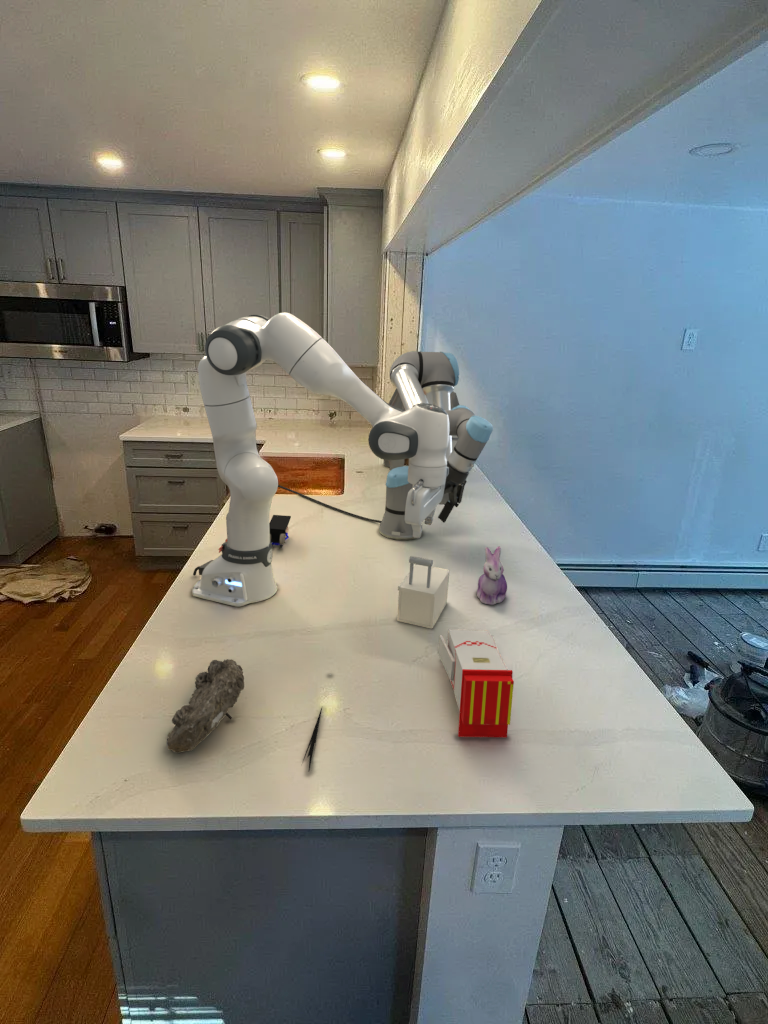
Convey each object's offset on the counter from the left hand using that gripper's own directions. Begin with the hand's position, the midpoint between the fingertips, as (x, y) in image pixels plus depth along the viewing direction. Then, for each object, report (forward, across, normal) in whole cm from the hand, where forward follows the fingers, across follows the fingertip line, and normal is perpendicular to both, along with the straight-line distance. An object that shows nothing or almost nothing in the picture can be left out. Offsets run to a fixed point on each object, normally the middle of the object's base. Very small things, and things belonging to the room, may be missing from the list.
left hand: (422, 530), depth 136 cm
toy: (+25, -22, -19) cm, 39 cm away
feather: (+25, -43, +6) cm, 50 cm away
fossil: (+25, -50, +25) cm, 61 cm away
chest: (+25, +5, 0) cm, 26 cm away
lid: (+16, +5, 0) cm, 17 cm away
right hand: (+13, +39, +9) cm, 42 cm away
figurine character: (+25, +28, +57) cm, 68 cm away
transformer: (+25, +133, +40) cm, 141 cm away
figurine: (+25, +21, -15) cm, 36 cm away
